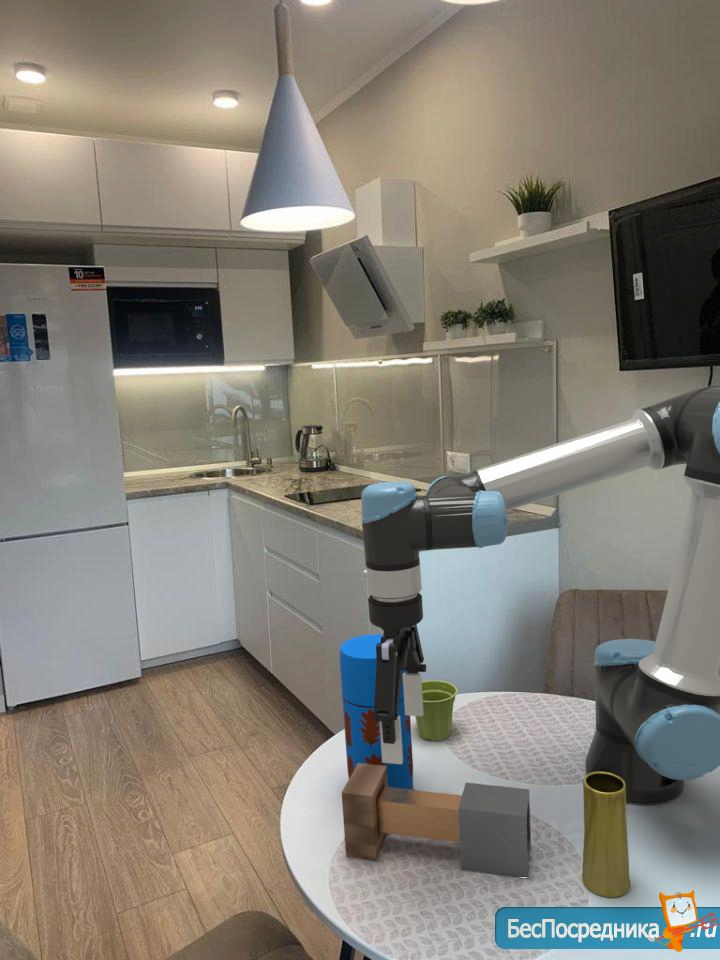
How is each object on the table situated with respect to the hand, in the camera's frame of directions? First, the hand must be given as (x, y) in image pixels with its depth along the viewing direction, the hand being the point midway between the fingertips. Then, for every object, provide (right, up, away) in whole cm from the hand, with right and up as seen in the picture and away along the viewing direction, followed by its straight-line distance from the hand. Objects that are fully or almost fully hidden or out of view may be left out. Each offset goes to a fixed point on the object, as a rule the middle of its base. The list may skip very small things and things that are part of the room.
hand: (404, 737), depth 104 cm
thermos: (-3, -15, +17) cm, 23 cm away
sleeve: (+13, -16, -2) cm, 21 cm away
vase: (+26, -17, -8) cm, 32 cm away
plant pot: (+8, -12, +34) cm, 37 cm away
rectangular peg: (+3, -14, +1) cm, 14 cm away
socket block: (-5, -17, +4) cm, 18 cm away
